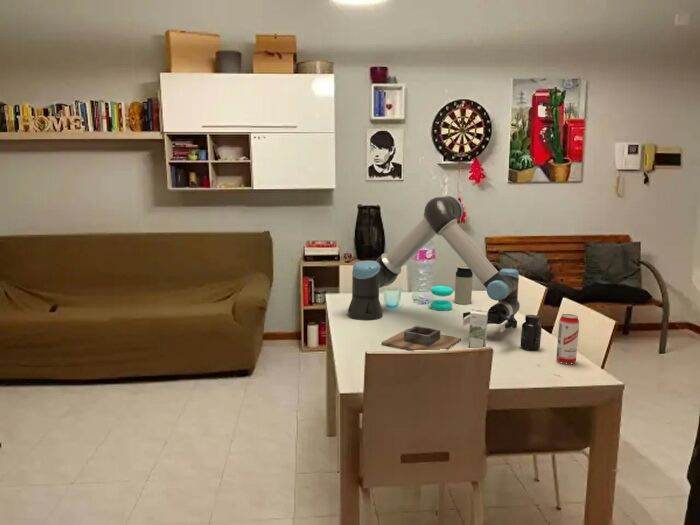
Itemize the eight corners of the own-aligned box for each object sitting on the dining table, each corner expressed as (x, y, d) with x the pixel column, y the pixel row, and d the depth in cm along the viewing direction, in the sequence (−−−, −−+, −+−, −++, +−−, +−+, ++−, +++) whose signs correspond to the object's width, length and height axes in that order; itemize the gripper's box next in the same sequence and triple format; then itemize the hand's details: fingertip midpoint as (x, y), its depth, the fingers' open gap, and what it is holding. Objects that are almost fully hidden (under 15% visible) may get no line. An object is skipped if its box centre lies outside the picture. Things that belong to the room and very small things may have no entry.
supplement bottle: (541, 351, 198) (543, 319, 196) (521, 350, 200) (523, 317, 198) (538, 346, 205) (541, 314, 203) (519, 344, 206) (521, 313, 204)
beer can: (552, 358, 191) (556, 313, 188) (570, 358, 192) (574, 313, 189) (561, 365, 185) (565, 318, 182) (579, 364, 185) (583, 318, 183)
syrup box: (485, 349, 200) (488, 309, 198) (484, 354, 195) (486, 313, 192) (469, 347, 202) (472, 308, 200) (467, 352, 196) (469, 312, 194)
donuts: (457, 288, 256) (442, 290, 250) (456, 309, 258) (441, 312, 252) (441, 284, 264) (426, 286, 258) (440, 305, 265) (425, 307, 259)
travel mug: (468, 305, 265) (470, 268, 262) (452, 303, 269) (454, 266, 266) (472, 302, 272) (474, 265, 270) (456, 300, 276) (458, 264, 273)
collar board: (381, 344, 203) (381, 332, 202) (408, 330, 221) (408, 319, 221) (437, 356, 191) (438, 343, 191) (461, 340, 210) (461, 329, 209)
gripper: (532, 327, 211) (516, 341, 193) (468, 317, 224) (448, 329, 206) (533, 308, 210) (518, 320, 192) (469, 299, 222) (449, 309, 205)
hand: (482, 325), depth 199 cm, fingers open, 13 cm apart
